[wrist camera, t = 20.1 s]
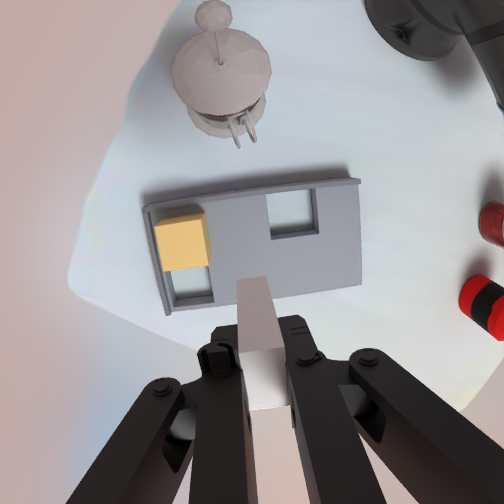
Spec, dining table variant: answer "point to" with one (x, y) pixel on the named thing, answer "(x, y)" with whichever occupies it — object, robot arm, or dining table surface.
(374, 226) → the dining table surface
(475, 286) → the soda can
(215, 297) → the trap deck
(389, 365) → the robot arm
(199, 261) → the ochre block
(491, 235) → the soda can
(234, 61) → the french press
